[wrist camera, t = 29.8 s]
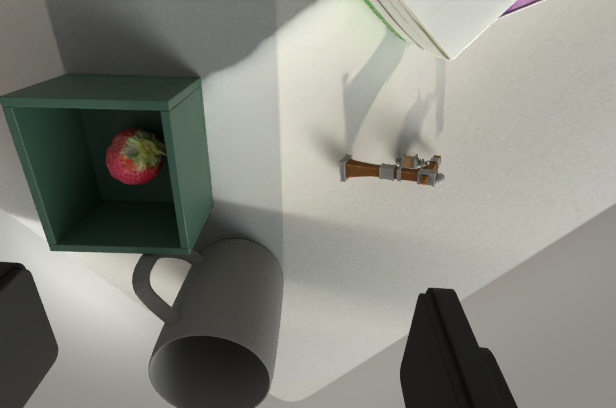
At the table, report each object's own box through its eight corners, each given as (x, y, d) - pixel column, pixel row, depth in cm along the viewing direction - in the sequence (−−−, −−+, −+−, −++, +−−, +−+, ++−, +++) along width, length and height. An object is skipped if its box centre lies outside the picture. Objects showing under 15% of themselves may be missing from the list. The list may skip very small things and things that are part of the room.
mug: (303, 283, 40) (298, 389, 29) (234, 323, 42) (207, 433, 32) (209, 182, 35) (162, 266, 24) (138, 234, 37) (67, 330, 27)
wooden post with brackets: (451, 170, 33) (442, 194, 29) (357, 162, 36) (339, 183, 33) (452, 149, 32) (443, 171, 28) (357, 143, 35) (338, 162, 32)
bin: (67, 73, 31) (-3, 96, 24) (200, 77, 31) (168, 101, 24) (99, 202, 36) (50, 251, 29) (213, 206, 36) (189, 255, 29)
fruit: (97, 146, 33) (63, 171, 28) (151, 108, 31) (124, 127, 27) (134, 186, 34) (107, 215, 30) (187, 151, 33) (167, 176, 28)
